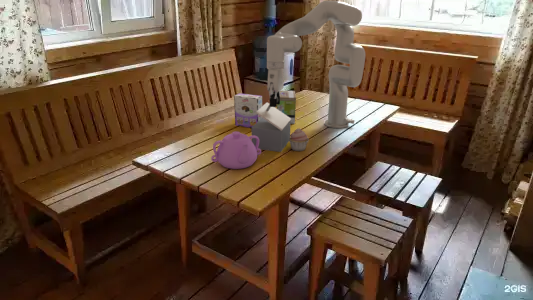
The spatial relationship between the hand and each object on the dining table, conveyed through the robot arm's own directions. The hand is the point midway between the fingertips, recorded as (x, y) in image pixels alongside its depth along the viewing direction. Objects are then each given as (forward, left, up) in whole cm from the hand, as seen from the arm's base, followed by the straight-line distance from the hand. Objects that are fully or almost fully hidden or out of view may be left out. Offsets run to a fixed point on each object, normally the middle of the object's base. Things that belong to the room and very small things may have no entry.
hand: (274, 105), depth 188 cm
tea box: (+4, -37, -19) cm, 42 cm away
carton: (+1, 0, -19) cm, 19 cm away
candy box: (+20, -21, -19) cm, 35 cm away
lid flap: (+1, 0, -6) cm, 6 cm away
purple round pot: (+7, +27, -19) cm, 34 cm away
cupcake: (-12, +2, -19) cm, 23 cm away
